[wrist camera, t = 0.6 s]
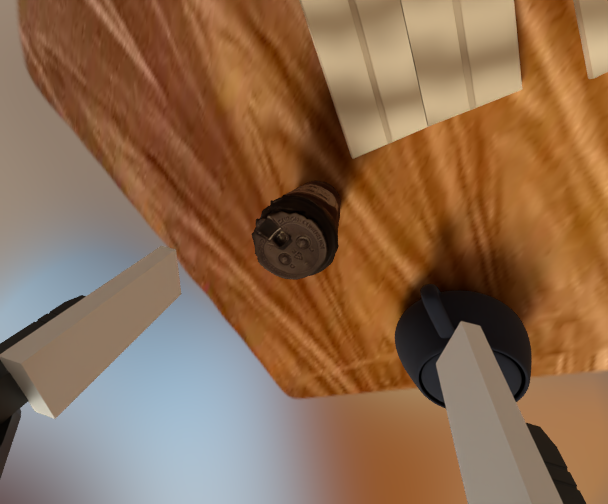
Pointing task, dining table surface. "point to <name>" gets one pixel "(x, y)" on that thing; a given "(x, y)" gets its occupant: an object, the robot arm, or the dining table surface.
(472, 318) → the teapot
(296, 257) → the coffee cup
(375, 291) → the dining table surface
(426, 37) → the laid board
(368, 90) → the plank
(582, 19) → the plank
